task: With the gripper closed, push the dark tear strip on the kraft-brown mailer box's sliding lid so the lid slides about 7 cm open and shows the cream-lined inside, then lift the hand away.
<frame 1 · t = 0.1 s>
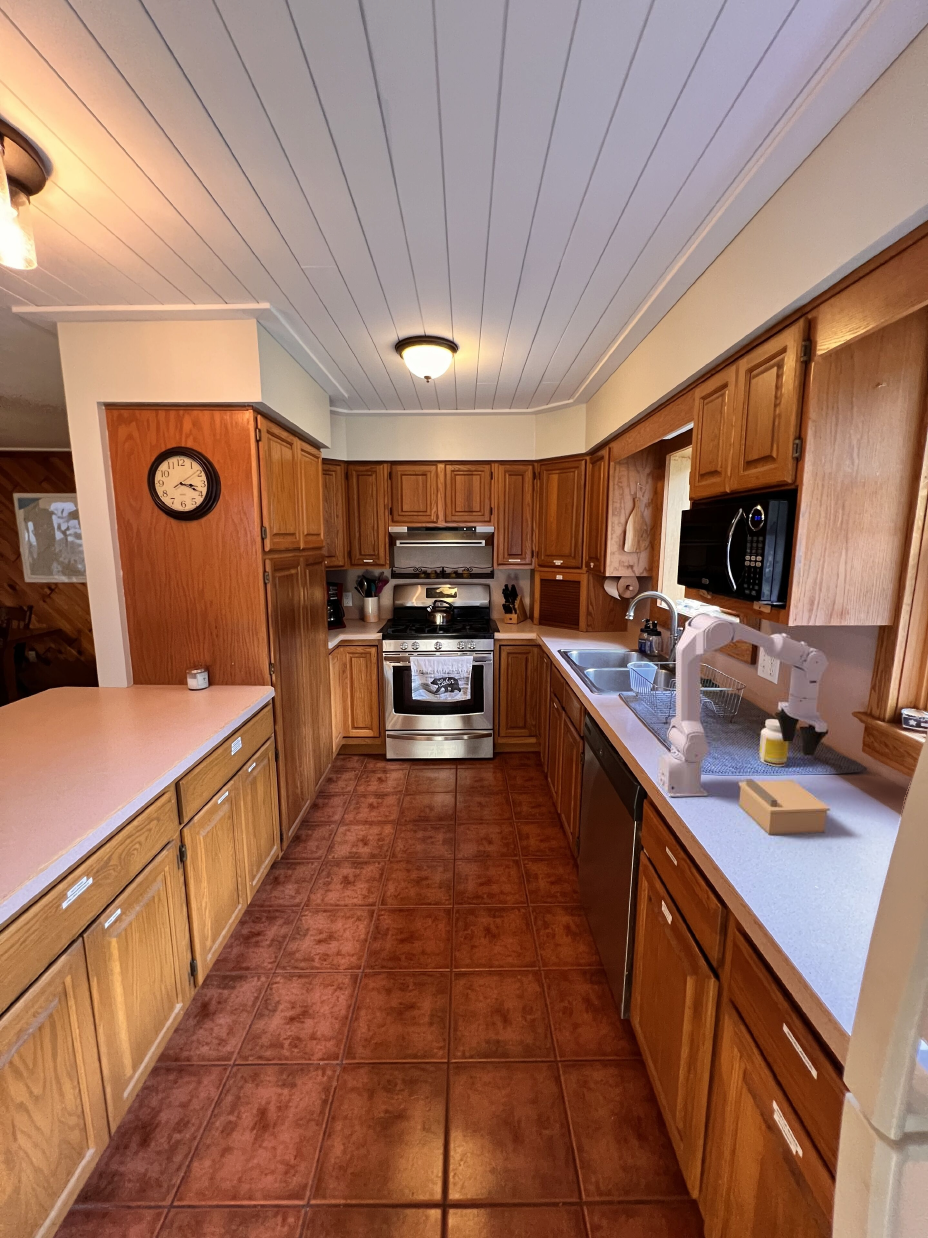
hand: (797, 747, 122), 10 cm above the counter, tool pointing down, fingers open, 7 cm apart
mailer box: (779, 818, 110), on the counter
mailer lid: (782, 792, 109), point 6 cm above the counter, slide at 0.0 cm
pill bottle: (772, 762, 136), on the counter
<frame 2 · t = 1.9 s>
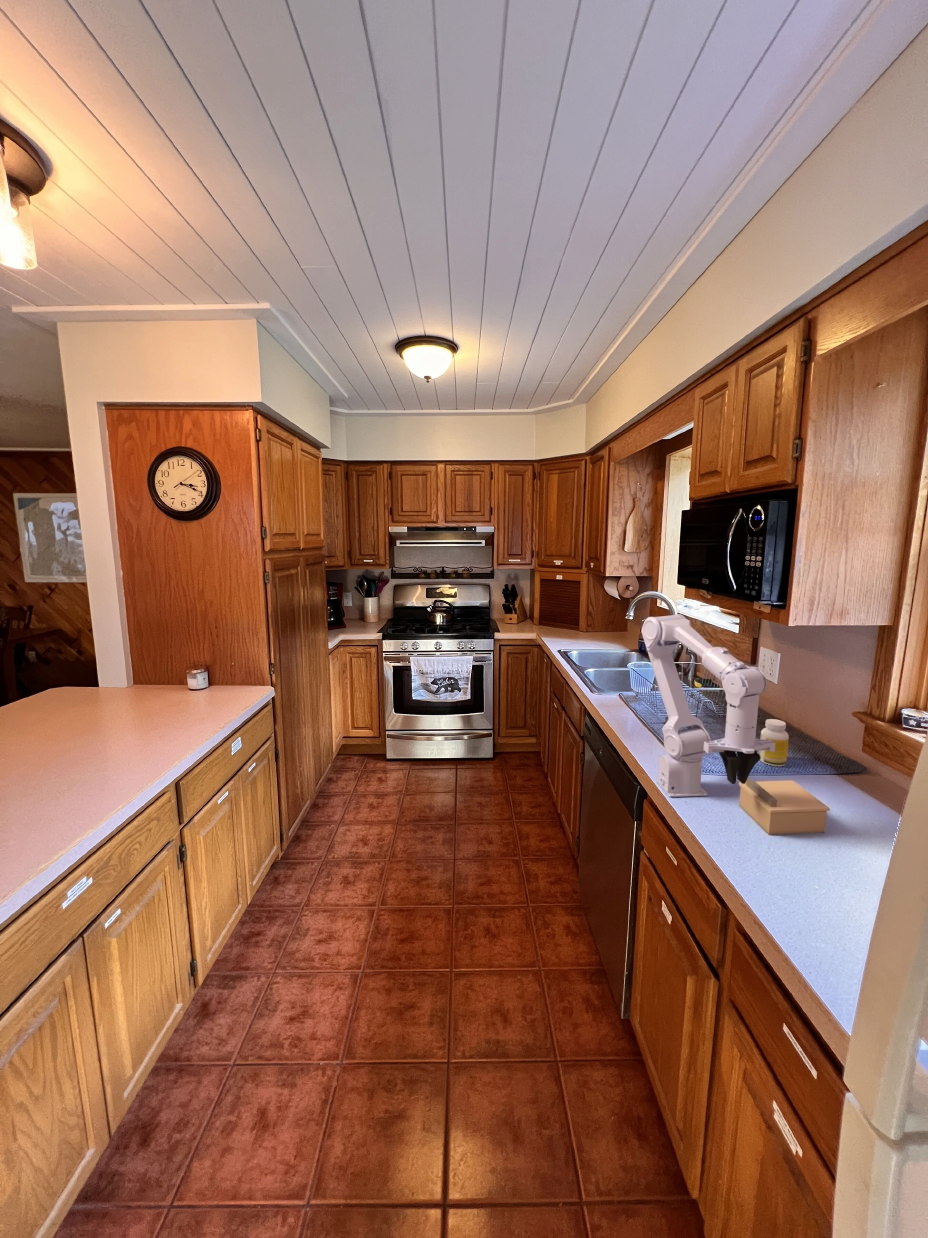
hand: (736, 781, 108), 9 cm above the counter, tool pointing down, fingers closed
nothing on the counter moved.
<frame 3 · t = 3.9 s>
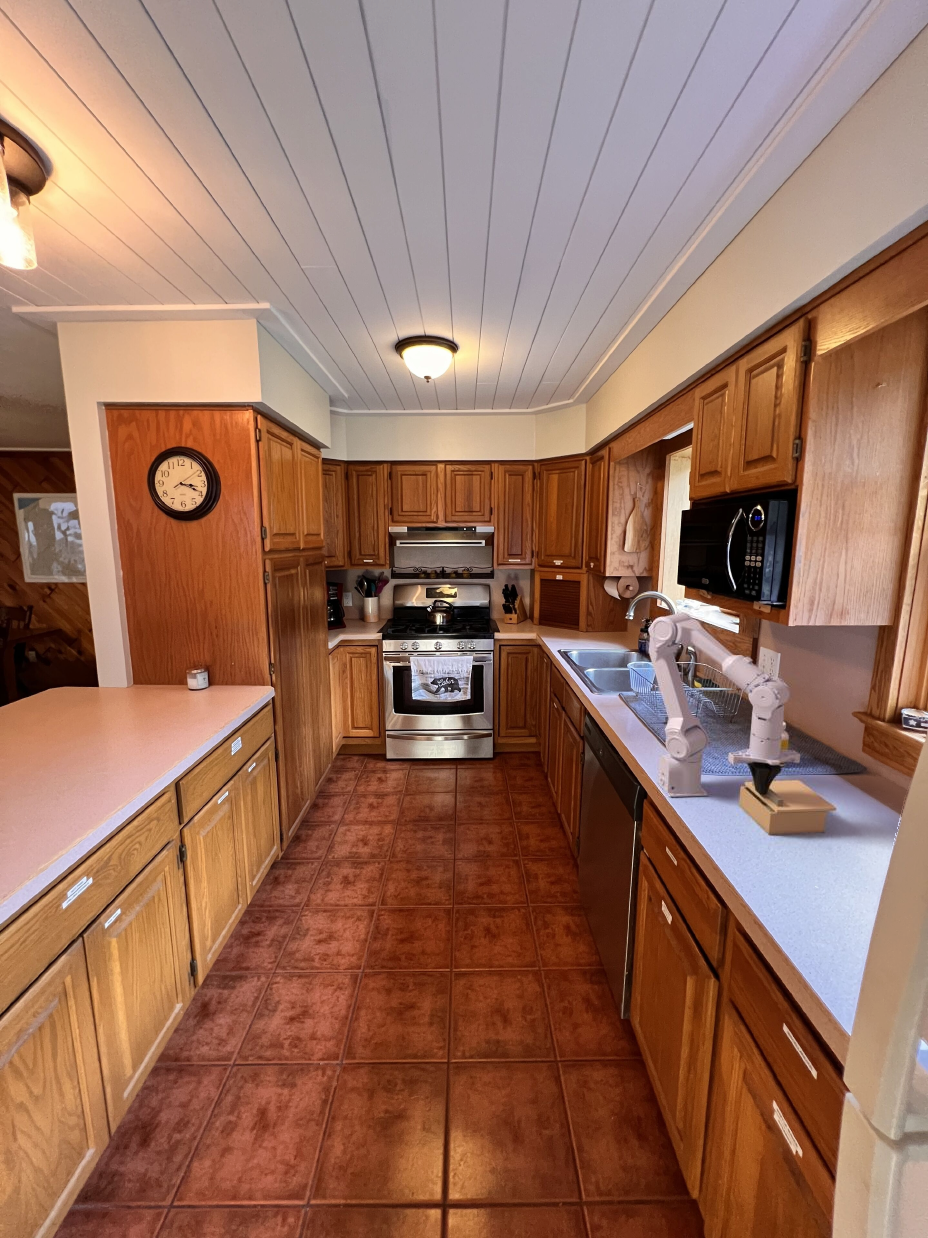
hand: (760, 792, 109), 7 cm above the counter, tool pointing down, fingers closed
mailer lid: (788, 792, 109), point 6 cm above the counter, slide at 1.4 cm, touching gripper
everything else where it was.
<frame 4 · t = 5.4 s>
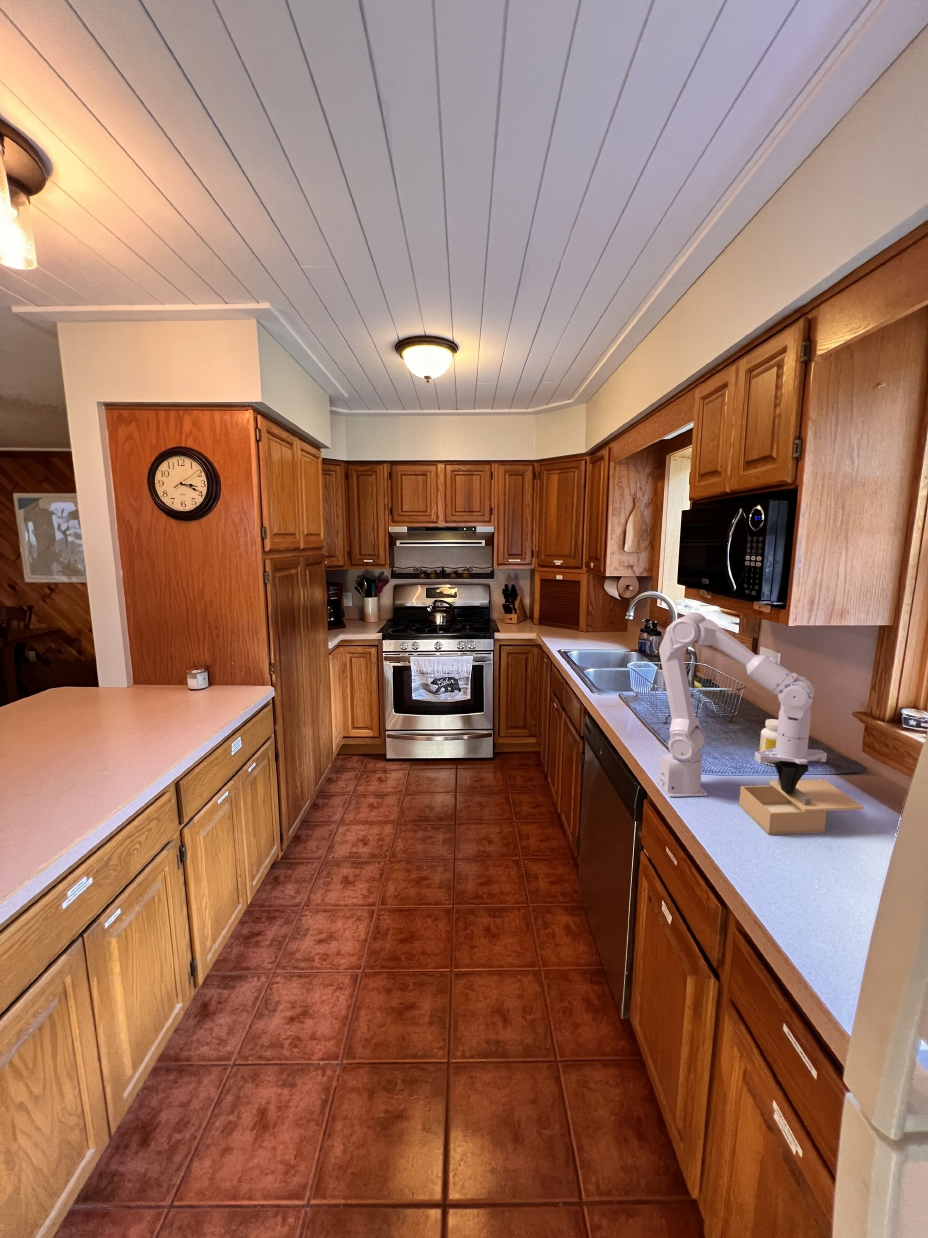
hand: (786, 791, 109), 7 cm above the counter, tool pointing down, fingers closed
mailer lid: (814, 791, 109), point 6 cm above the counter, slide at 7.3 cm, touching gripper
everything else where it was.
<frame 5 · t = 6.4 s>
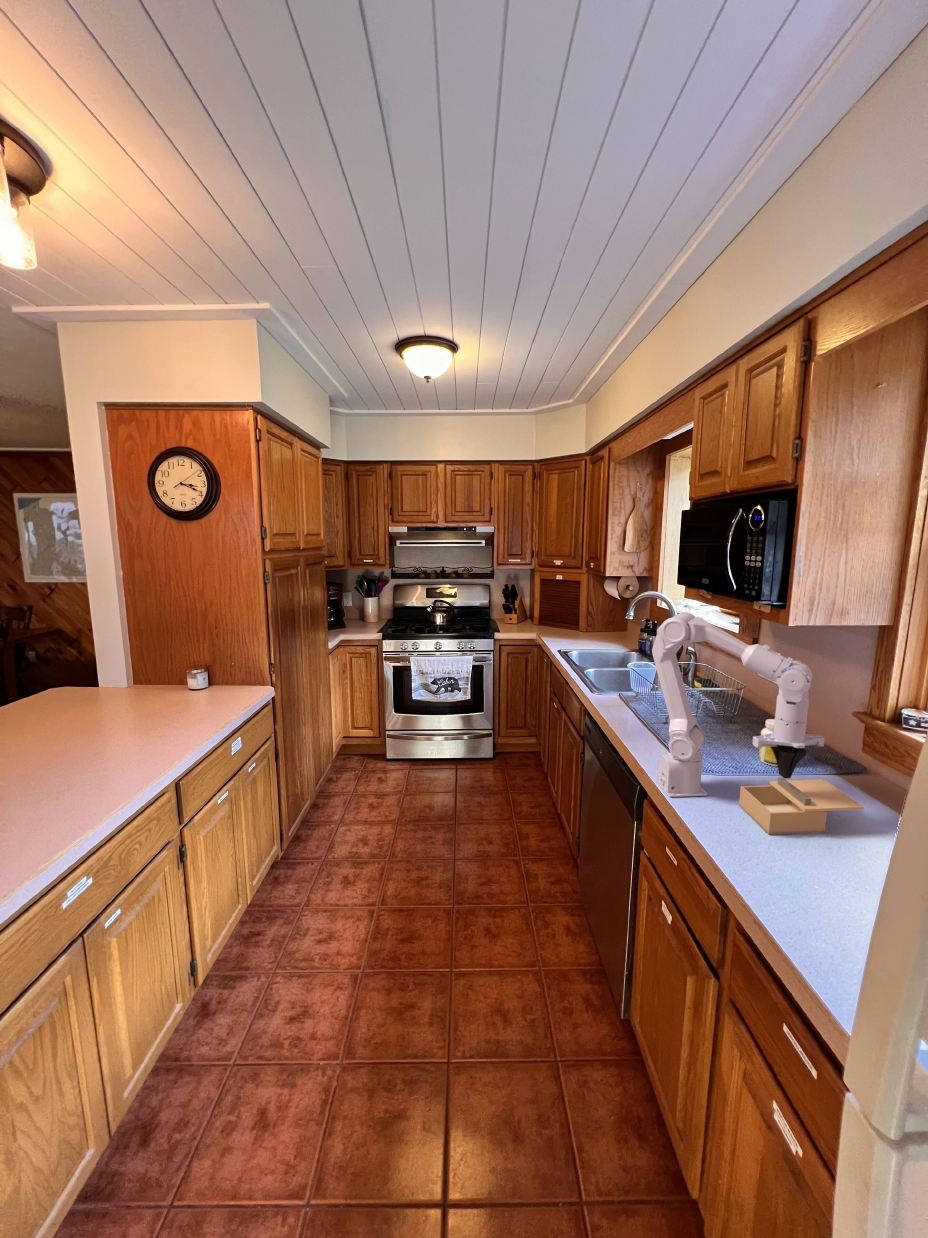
hand: (784, 776, 109), 10 cm above the counter, tool pointing down, fingers closed
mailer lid: (814, 791, 109), point 6 cm above the counter, slide at 7.3 cm
everything else where it was.
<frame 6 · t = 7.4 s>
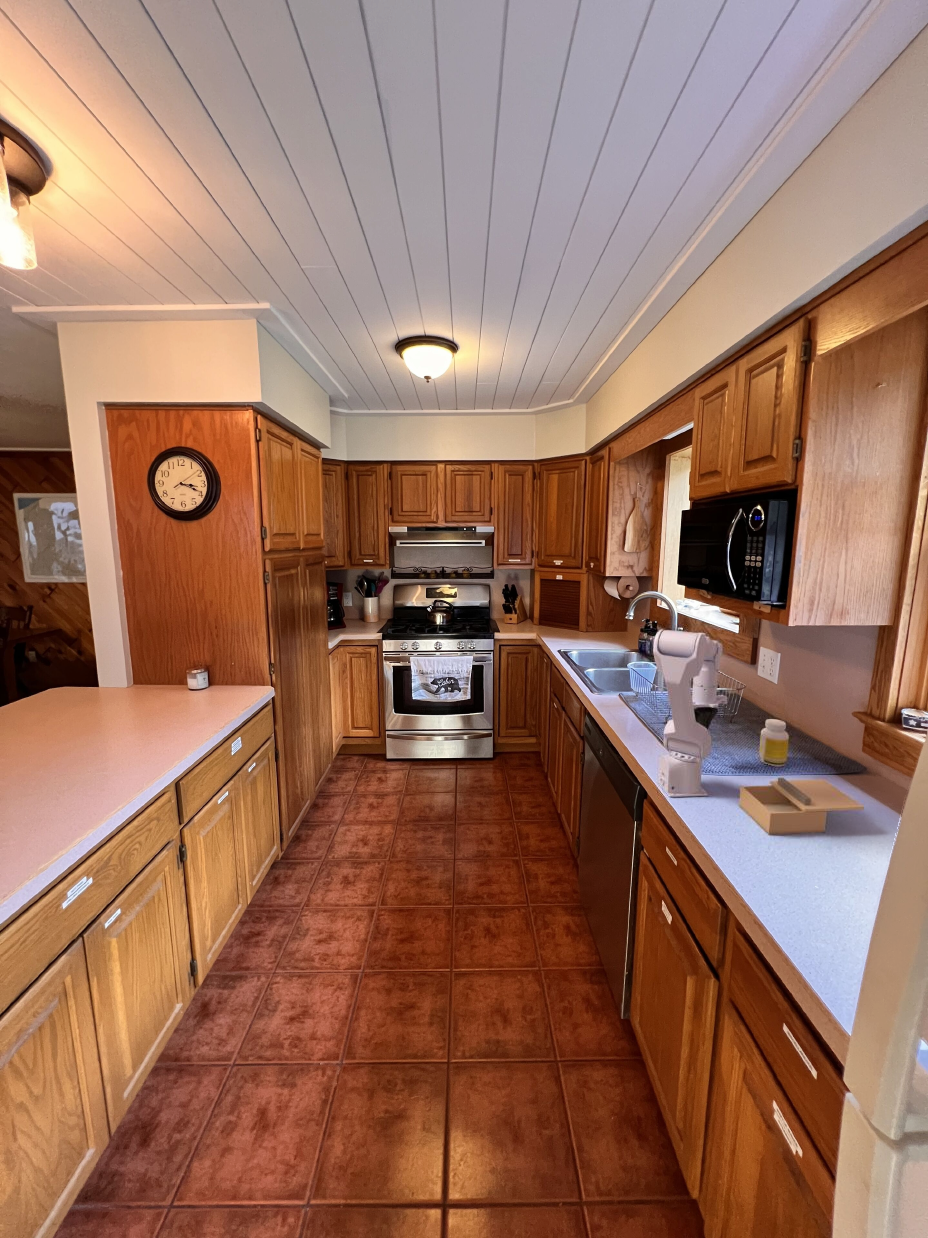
hand: (701, 732, 133), 10 cm above the counter, tool pointing down, fingers closed
nothing on the counter moved.
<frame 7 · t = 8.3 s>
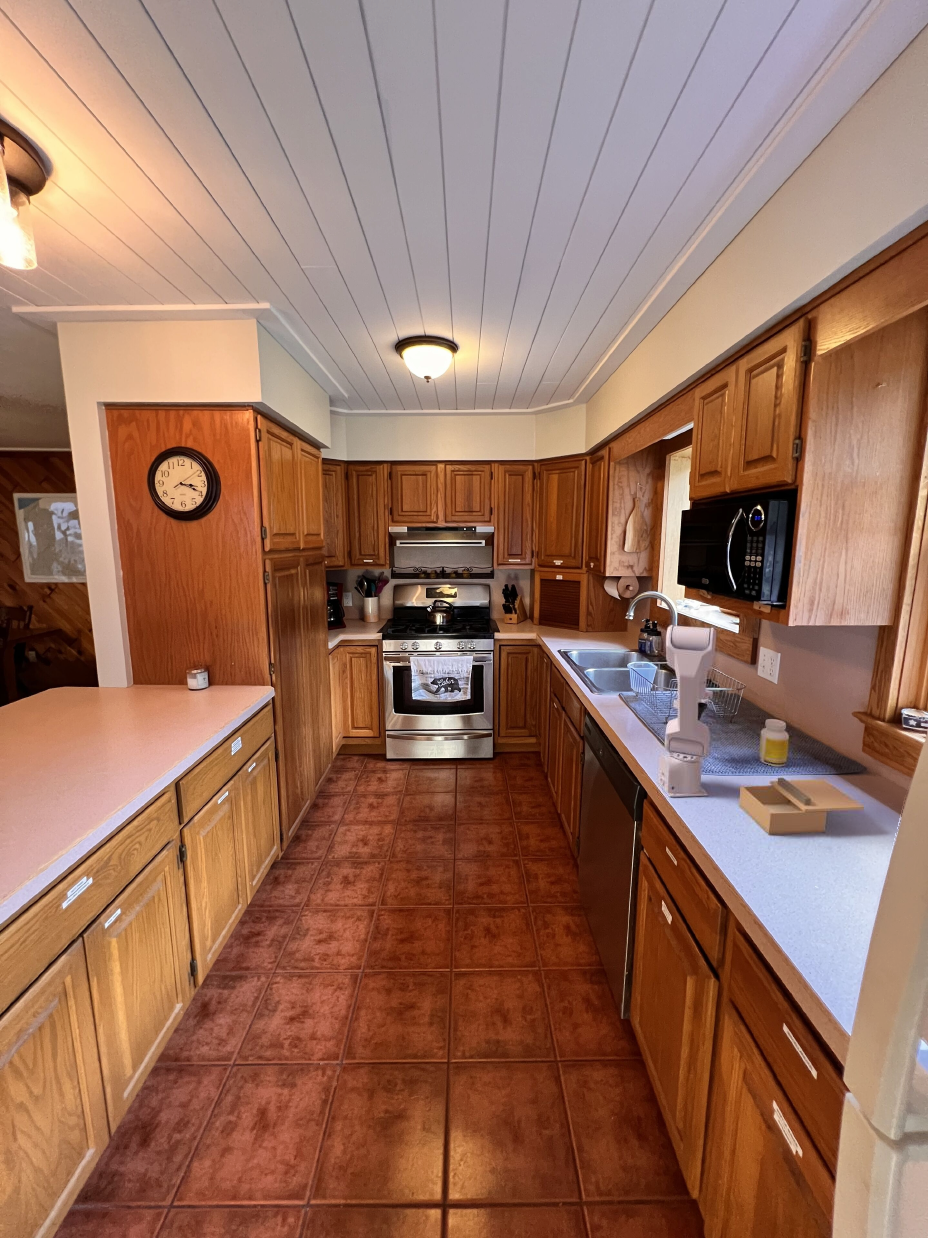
hand: (691, 727, 136), 10 cm above the counter, tool pointing down, fingers closed
nothing on the counter moved.
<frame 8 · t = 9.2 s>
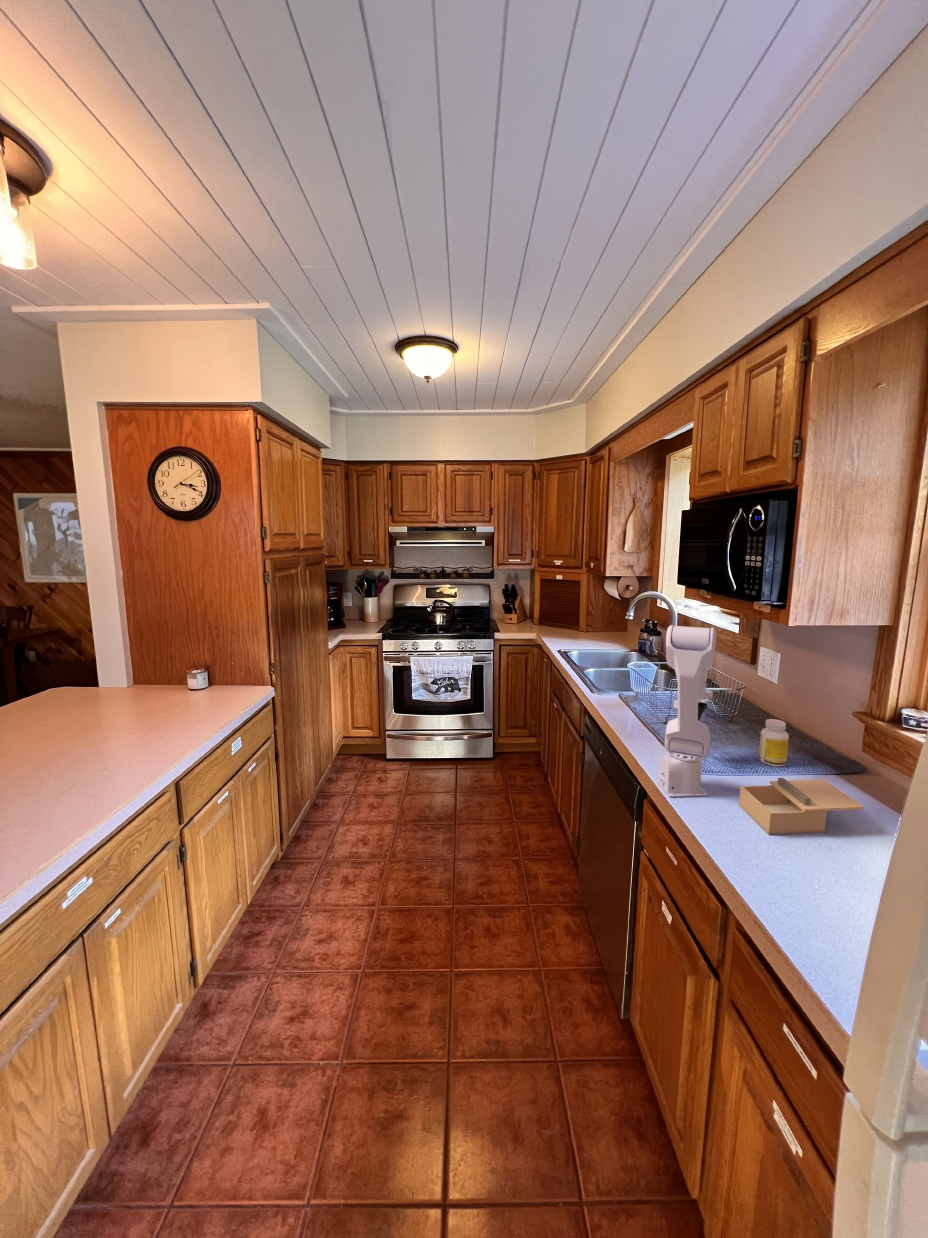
hand: (691, 727, 136), 10 cm above the counter, tool pointing down, fingers closed
nothing on the counter moved.
at the end: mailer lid slide at 7.3 cm; pill bottle moved 0.2 cm from its start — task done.
